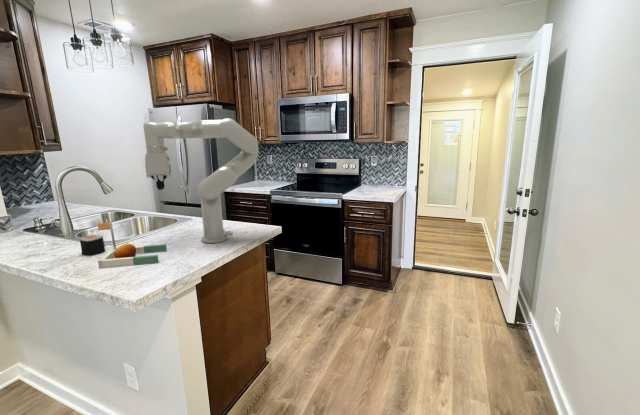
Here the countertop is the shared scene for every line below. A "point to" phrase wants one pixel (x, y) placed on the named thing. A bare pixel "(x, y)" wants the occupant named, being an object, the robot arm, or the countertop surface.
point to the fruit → (125, 251)
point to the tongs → (111, 262)
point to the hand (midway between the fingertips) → (160, 189)
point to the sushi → (92, 245)
